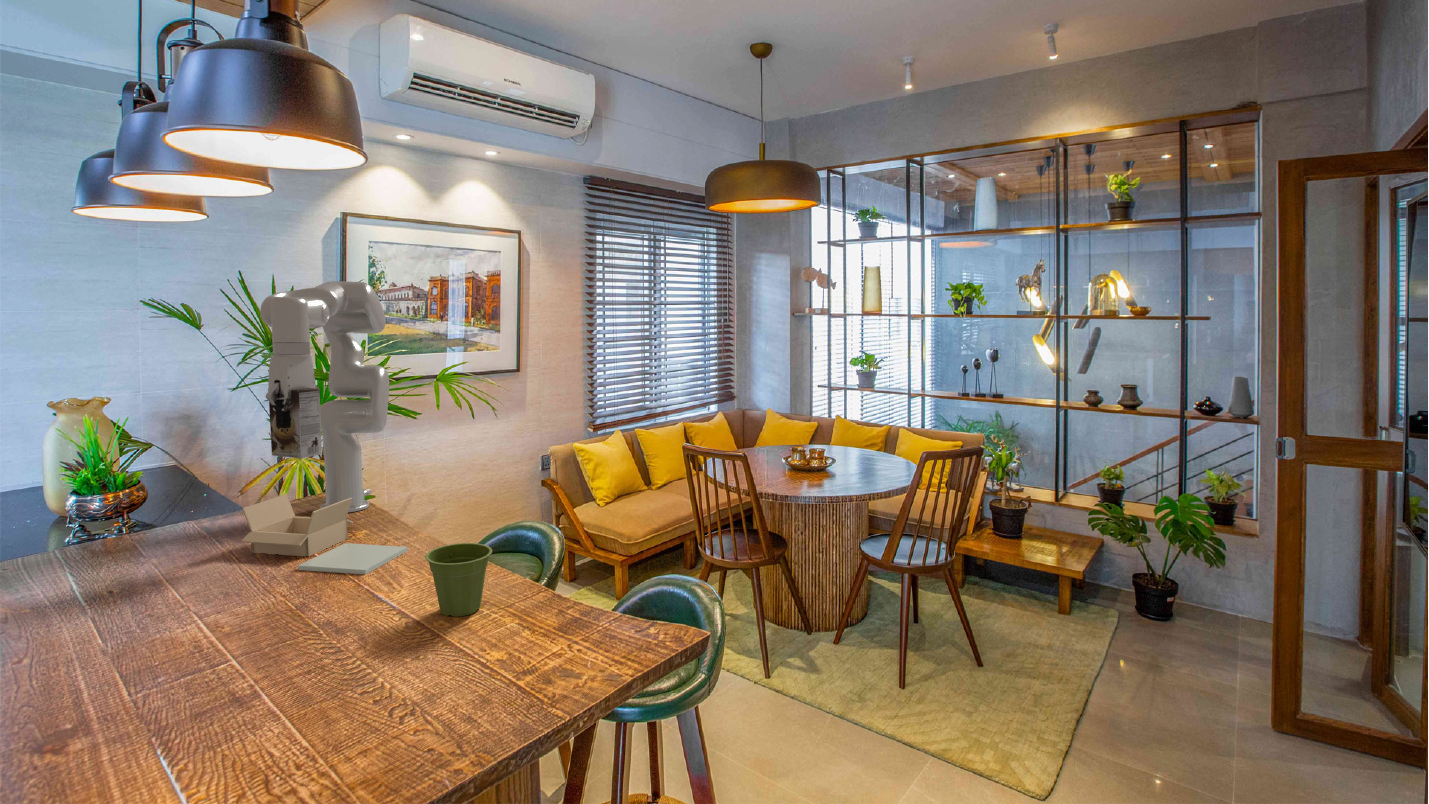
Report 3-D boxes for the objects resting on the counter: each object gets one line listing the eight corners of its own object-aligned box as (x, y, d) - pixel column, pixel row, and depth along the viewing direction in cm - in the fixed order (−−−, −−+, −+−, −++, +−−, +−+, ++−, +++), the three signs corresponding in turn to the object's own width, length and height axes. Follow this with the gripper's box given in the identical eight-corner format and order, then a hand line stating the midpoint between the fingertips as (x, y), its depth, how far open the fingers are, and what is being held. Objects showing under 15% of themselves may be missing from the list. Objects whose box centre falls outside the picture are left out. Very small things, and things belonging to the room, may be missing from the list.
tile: (345, 547, 167) (345, 543, 167) (407, 551, 165) (407, 546, 165) (297, 569, 152) (297, 565, 151) (365, 574, 149) (365, 570, 149)
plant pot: (413, 613, 130) (411, 555, 129) (465, 593, 140) (464, 539, 139) (455, 628, 124) (453, 567, 123) (506, 606, 134) (505, 549, 133)
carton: (295, 532, 178) (293, 491, 177) (361, 536, 176) (359, 494, 175) (235, 556, 160) (232, 510, 158) (307, 561, 157) (305, 514, 156)
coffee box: (270, 456, 164) (266, 388, 162) (293, 451, 170) (290, 385, 168) (300, 459, 161) (296, 389, 159) (323, 454, 167) (320, 387, 165)
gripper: (303, 348, 172) (307, 419, 174) (247, 351, 155) (252, 430, 157) (331, 349, 171) (334, 421, 173) (278, 352, 154) (282, 431, 156)
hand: (295, 424), depth 165 cm, fingers closed on coffee box, 7 cm apart
